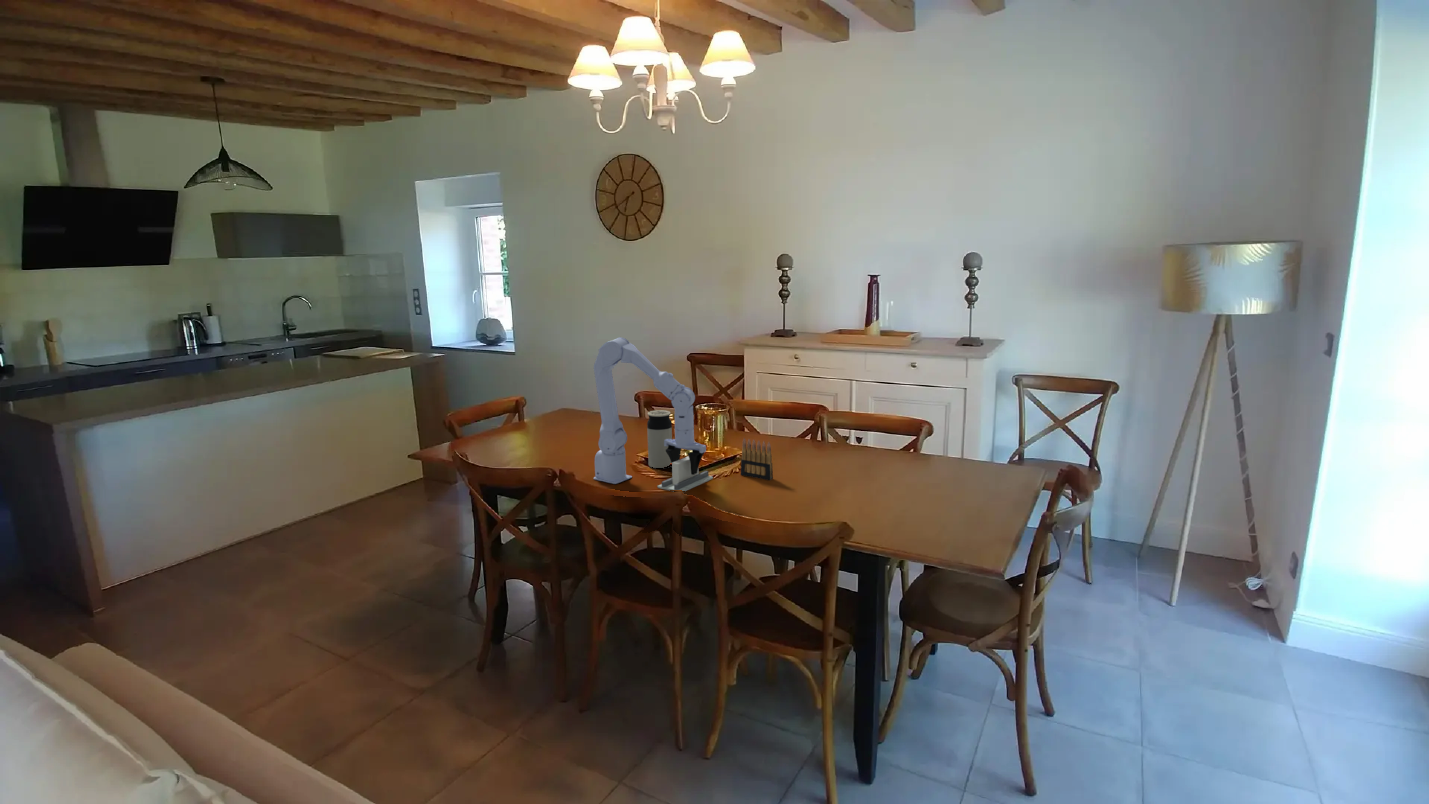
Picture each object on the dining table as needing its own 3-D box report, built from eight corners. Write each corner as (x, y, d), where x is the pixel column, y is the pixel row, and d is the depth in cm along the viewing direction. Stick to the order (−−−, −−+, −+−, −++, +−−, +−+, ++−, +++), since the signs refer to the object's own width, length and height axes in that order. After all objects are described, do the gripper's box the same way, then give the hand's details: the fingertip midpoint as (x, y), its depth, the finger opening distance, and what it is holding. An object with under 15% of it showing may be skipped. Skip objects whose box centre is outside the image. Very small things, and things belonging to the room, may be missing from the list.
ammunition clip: (740, 474, 230) (740, 438, 228) (743, 473, 232) (743, 436, 229) (770, 480, 224) (770, 442, 222) (773, 478, 226) (773, 441, 223)
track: (657, 487, 219) (657, 481, 219) (689, 473, 232) (689, 467, 231) (681, 493, 214) (681, 486, 214) (712, 478, 227) (712, 472, 226)
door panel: (672, 484, 220) (671, 462, 218) (692, 476, 228) (691, 454, 226) (678, 486, 218) (678, 463, 217) (698, 477, 226) (698, 455, 225)
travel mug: (671, 469, 237) (670, 415, 233) (647, 469, 237) (645, 415, 234) (673, 461, 245) (672, 409, 241) (650, 462, 245) (648, 410, 241)
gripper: (711, 429, 218) (712, 472, 221) (673, 422, 227) (674, 464, 230) (697, 434, 213) (698, 478, 216) (659, 427, 221) (660, 470, 224)
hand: (685, 471), depth 222 cm, fingers open, 6 cm apart
